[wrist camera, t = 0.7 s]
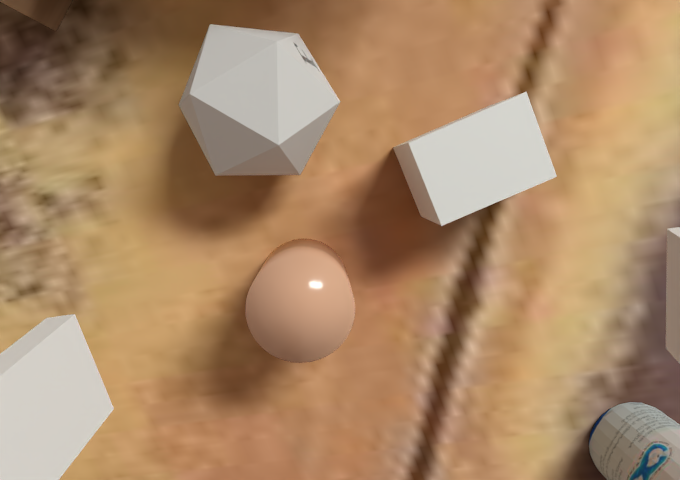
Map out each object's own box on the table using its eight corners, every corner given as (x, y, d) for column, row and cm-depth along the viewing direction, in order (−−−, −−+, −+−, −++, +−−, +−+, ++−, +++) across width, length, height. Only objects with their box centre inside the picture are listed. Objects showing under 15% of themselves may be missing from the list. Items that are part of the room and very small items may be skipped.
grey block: (420, 216, 35) (441, 225, 29) (392, 147, 34) (408, 142, 28) (516, 175, 35) (556, 176, 29) (489, 105, 34) (526, 91, 28)
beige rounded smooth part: (302, 342, 36) (298, 384, 29) (241, 280, 35) (222, 308, 28) (365, 283, 35) (377, 311, 28) (305, 220, 34) (302, 233, 28)
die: (326, 183, 35) (384, 89, 27) (208, 224, 31) (233, 127, 22) (271, 88, 37) (310, -27, 28) (153, 115, 32) (158, -11, 24)
